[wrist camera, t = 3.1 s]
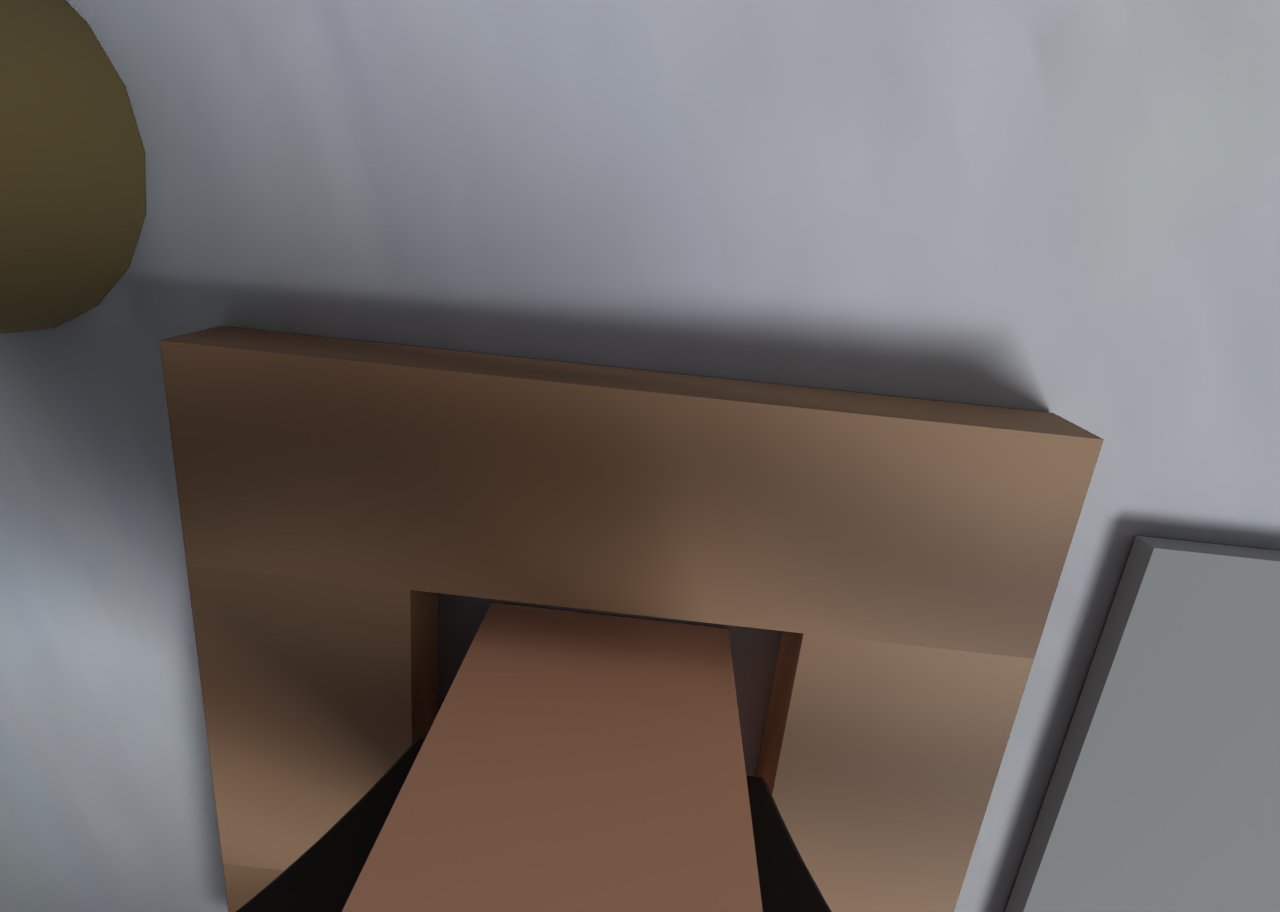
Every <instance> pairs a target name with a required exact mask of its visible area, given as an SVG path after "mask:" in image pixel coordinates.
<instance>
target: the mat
mask: <svg viewBox="0 0 1280 912" xmlns="http://www.w3.org/2000/svg"><path fill="white" fill-rule="evenodd" d="M1005 912H1280V551H1277V550H1268V549H1258V548H1249V547H1240V546H1230V545H1221V544H1212V543H1202V542H1193V541H1184V540H1174V539H1165V538H1155V537H1146V536H1137V535H1136V537H1135V540H1134V543H1133V546H1132V549H1131V551H1130V554H1129V557H1128V560H1127V563H1126V566H1125V569H1124V571H1123V574H1122V577H1121V580H1120V583H1119V586H1118V589H1117V592H1116V594H1115V597H1114V600H1113V603H1112V606H1111V609H1110V612H1109V614H1108V617H1107V620H1106V623H1105V626H1104V629H1103V632H1102V635H1101V637H1100V640H1099V643H1098V646H1097V649H1096V652H1095V655H1094V658H1093V660H1092V663H1091V666H1090V669H1089V672H1088V675H1087V678H1086V680H1085V683H1084V686H1083V689H1082V692H1081V695H1080V698H1079V701H1078V703H1077V706H1076V709H1075V712H1074V715H1073V718H1072V721H1071V723H1070V726H1069V729H1068V732H1067V735H1066V738H1065V741H1064V744H1063V746H1062V749H1061V752H1060V755H1059V758H1058V761H1057V764H1056V767H1055V769H1054V772H1053V775H1052V778H1051V781H1050V784H1049V787H1048V789H1047V792H1046V795H1045V798H1044V801H1043V804H1042V807H1041V810H1040V812H1039V815H1038V818H1037V821H1036V824H1035V827H1034V830H1033V832H1032V835H1031V838H1030V841H1029V844H1028V847H1027V850H1026V853H1025V855H1024V858H1023V861H1022V864H1021V867H1020V870H1019V873H1018V876H1017V878H1016V881H1015V884H1014V887H1013V890H1012V893H1011V896H1010V898H1009V901H1008V904H1007V907H1006V910H1005Z"/></svg>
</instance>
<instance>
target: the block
mask: <svg viewBox="0 0 1280 912" xmlns="http://www.w3.org/2000/svg"><path fill="white" fill-rule="evenodd" d="M342 912H763V909H762V901H761V892H760V884H759V876H758V868H757V860H756V851H755V843H754V835H753V827H752V819H751V810H750V802H749V794H748V786H747V777H746V769H745V761H744V753H743V745H742V736H741V728H740V720H739V712H738V704H737V695H736V687H735V679H734V671H733V662H732V654H731V646H730V638H729V630H728V628H719V627H710V626H701V625H692V624H682V623H673V622H664V621H655V620H646V619H637V618H628V617H619V616H610V615H601V614H592V613H583V612H574V611H565V610H556V609H547V608H538V607H529V606H520V605H510V604H501V603H492V602H491V604H490V606H489V608H488V611H487V613H486V615H485V617H484V619H483V621H482V623H481V625H480V627H479V629H478V631H477V633H476V635H475V637H474V639H473V642H472V644H471V646H470V648H469V650H468V652H467V654H466V656H465V658H464V660H463V662H462V664H461V666H460V668H459V670H458V673H457V675H456V677H455V679H454V681H453V683H452V685H451V687H450V689H449V691H448V693H447V695H446V697H445V699H444V701H443V704H442V706H441V708H440V710H439V712H438V714H437V716H436V718H435V720H434V722H433V724H432V726H431V728H430V730H429V732H428V735H427V737H426V739H425V741H424V743H423V745H422V747H421V749H420V751H419V753H418V755H417V757H416V759H415V761H414V764H413V766H412V768H411V770H410V772H409V774H408V776H407V778H406V780H405V782H404V784H403V786H402V788H401V790H400V792H399V795H398V797H397V799H396V801H395V803H394V805H393V807H392V809H391V811H390V813H389V815H388V817H387V819H386V821H385V823H384V826H383V828H382V830H381V832H380V834H379V836H378V838H377V840H376V842H375V844H374V846H373V848H372V850H371V852H370V854H369V857H368V859H367V861H366V863H365V865H364V867H363V869H362V871H361V873H360V875H359V877H358V879H357V881H356V883H355V886H354V888H353V890H352V892H351V894H350V896H349V898H348V900H347V902H346V904H345V906H344V908H343V910H342Z"/></svg>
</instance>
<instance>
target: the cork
mask: <svg viewBox="0 0 1280 912" xmlns="http://www.w3.org/2000/svg"><path fill="white" fill-rule="evenodd" d="M145 215H146V203H145V152H144V148H143V145H142V141H141V138H140V135H139V131H138V128H137V125H136V121H135V118H134V114H133V111H132V108H131V104H130V101H129V98H128V94H127V91H126V87H125V85H124V84H123V82H122V80H121V79H120V77H119V75H118V74H117V72H116V70H115V69H114V67H113V65H112V63H111V62H110V60H109V58H108V57H107V55H106V53H105V52H104V50H103V48H102V47H101V45H100V43H99V42H98V40H97V38H96V36H95V35H94V33H93V31H92V30H91V28H90V26H89V25H88V23H87V22H86V21H85V20H84V19H83V18H82V17H81V16H80V15H79V14H78V13H77V12H76V11H75V10H74V9H73V8H72V7H71V6H70V5H69V4H68V3H67V2H66V1H65V0H0V333H9V332H18V331H28V330H37V329H47V328H55V327H57V326H58V325H60V324H62V323H64V322H66V321H68V320H70V319H72V318H74V317H76V316H78V315H80V314H81V313H83V312H85V311H87V310H89V309H91V308H93V307H95V306H97V305H98V304H99V303H100V301H101V300H102V299H103V298H104V296H105V295H106V294H107V293H108V292H109V290H110V289H111V288H112V287H113V286H114V284H115V283H116V282H117V281H118V279H119V278H120V277H121V276H122V275H123V273H124V272H125V271H126V270H127V268H128V267H129V265H130V262H131V259H132V256H133V253H134V249H135V246H136V243H137V240H138V237H139V234H140V231H141V228H142V224H143V221H144V218H145Z"/></svg>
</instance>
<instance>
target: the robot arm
mask: <svg viewBox="0 0 1280 912" xmlns="http://www.w3.org/2000/svg"><path fill="white" fill-rule="evenodd" d="M424 741H425V739H418V740H417V741H416V742H414V743H413V744H412V745H411V746H410V747H409V748H408V749H407V751H406V752H405V753H404V754H403V755H402V756H401V757H400V758H399V759H398V760H397V761H396V763H395V764H394V765H393V766H392V767H391V768H390V769H389V770H388V771H387V772H386V773H385V774H384V775H383V776H382V777H381V779H380V780H379V781H378V782H377V783H376V784H375V785H374V786H373V787H372V788H371V789H370V790H369V791H368V792H367V793H366V794H365V795H364V796H363V797H362V798H361V799H360V800H359V801H358V802H357V803H356V804H355V805H354V806H353V807H352V808H351V809H350V810H349V811H348V812H347V813H346V814H345V815H344V816H343V817H342V818H341V819H340V820H339V821H338V822H337V823H336V824H335V825H334V826H333V827H332V828H331V829H330V830H329V831H328V832H327V833H326V834H324V835H323V836H322V837H321V838H320V839H319V840H318V841H317V842H316V843H315V844H314V845H313V846H311V847H310V848H309V849H308V850H307V851H306V852H305V853H304V854H303V855H301V856H300V857H299V858H298V859H297V860H296V861H295V862H294V863H292V864H291V865H290V866H289V867H288V868H287V869H286V870H285V871H284V872H282V873H281V874H280V875H279V876H278V877H277V878H276V879H275V880H273V881H272V882H271V883H270V884H269V885H267V886H266V887H265V888H264V889H263V890H261V891H260V892H259V893H258V894H257V895H255V896H254V897H253V898H252V899H251V900H249V901H248V902H247V903H246V904H244V905H243V906H242V907H241V908H239V909H238V910H237V911H236V912H342V910H343V908H344V906H345V904H346V902H347V900H348V898H349V896H350V894H351V892H352V890H353V888H354V886H355V883H356V881H357V879H358V877H359V875H360V873H361V871H362V869H363V867H364V865H365V863H366V861H367V859H368V857H369V854H370V852H371V850H372V848H373V846H374V844H375V842H376V840H377V838H378V836H379V834H380V832H381V830H382V828H383V826H384V823H385V821H386V819H387V817H388V815H389V813H390V811H391V809H392V807H393V805H394V803H395V801H396V799H397V797H398V795H399V792H400V790H401V788H402V786H403V784H404V782H405V780H406V778H407V776H408V774H409V772H410V770H411V768H412V766H413V764H414V761H415V759H416V757H417V755H418V753H419V751H420V749H421V747H422V745H423V743H424ZM746 777H747V786H748V794H749V802H750V810H751V819H752V827H753V835H754V843H755V851H756V860H757V868H758V876H759V884H760V892H761V901H762V909H763V912H832V911H831V910H830V908H829V906H828V904H827V903H826V901H825V899H824V897H823V896H822V894H821V892H820V890H819V888H818V887H817V885H816V883H815V881H814V879H813V878H812V876H811V874H810V872H809V870H808V868H807V867H806V865H805V863H804V861H803V859H802V857H801V855H800V853H799V851H798V849H797V847H796V845H795V843H794V841H793V839H792V837H791V835H790V833H789V831H788V829H787V827H786V825H785V823H784V821H783V819H782V817H781V814H780V812H779V810H778V808H777V805H776V803H775V801H774V799H773V796H772V794H771V792H770V789H769V787H768V784H767V783H766V782H765V780H764V779H763V778H762V777H753V776H746Z"/></svg>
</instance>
